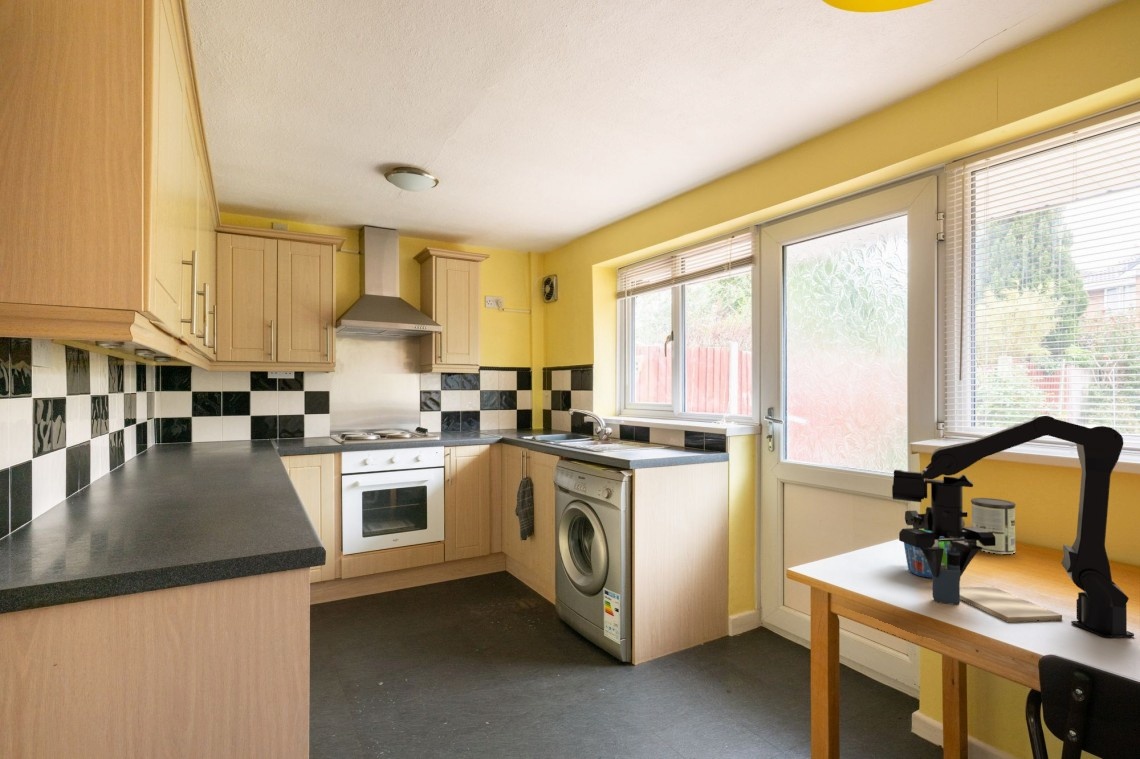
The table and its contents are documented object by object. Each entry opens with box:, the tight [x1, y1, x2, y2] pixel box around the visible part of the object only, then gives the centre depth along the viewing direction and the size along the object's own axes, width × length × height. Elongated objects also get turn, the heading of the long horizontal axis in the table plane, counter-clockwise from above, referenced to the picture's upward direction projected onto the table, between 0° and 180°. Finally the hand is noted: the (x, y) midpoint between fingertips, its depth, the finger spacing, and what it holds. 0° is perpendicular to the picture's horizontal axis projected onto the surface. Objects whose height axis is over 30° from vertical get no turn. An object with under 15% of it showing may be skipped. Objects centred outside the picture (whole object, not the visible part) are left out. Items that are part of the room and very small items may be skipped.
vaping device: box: [932, 546, 962, 605], centre depth 120 cm, size 3×5×12 cm, turn 78°
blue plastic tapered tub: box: [903, 529, 950, 579], centre depth 138 cm, size 16×10×10 cm
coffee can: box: [970, 497, 1017, 555], centre depth 160 cm, size 10×10×14 cm
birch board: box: [960, 586, 1063, 623], centre depth 118 cm, size 16×12×1 cm
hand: (946, 576), depth 120 cm, fingers closed on vaping device, 5 cm apart
